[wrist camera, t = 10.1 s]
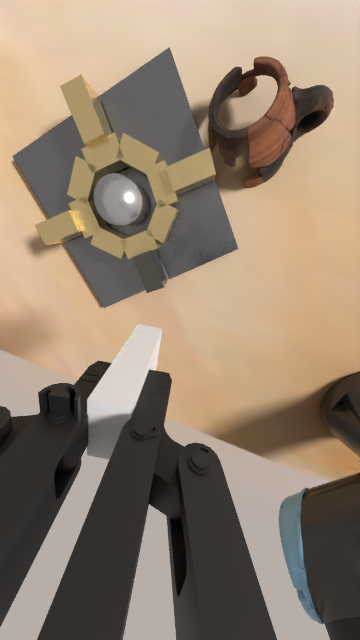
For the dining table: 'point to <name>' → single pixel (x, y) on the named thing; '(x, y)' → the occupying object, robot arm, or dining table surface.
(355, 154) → the dining table surface
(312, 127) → the pottery mug
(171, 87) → the flange plate
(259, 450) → the dining table surface
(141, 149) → the ring nut
